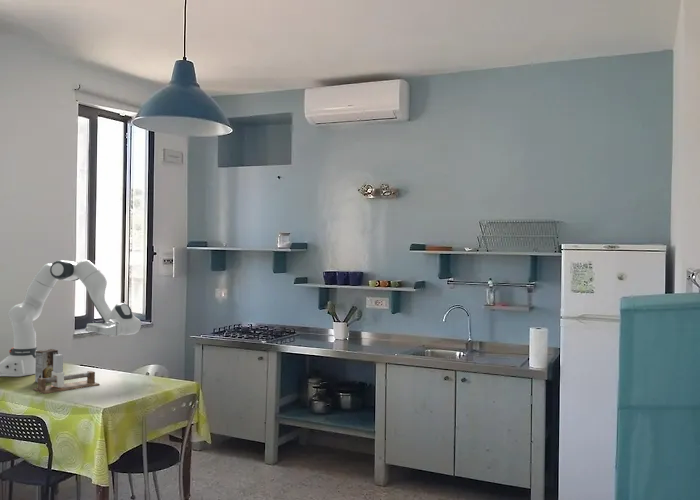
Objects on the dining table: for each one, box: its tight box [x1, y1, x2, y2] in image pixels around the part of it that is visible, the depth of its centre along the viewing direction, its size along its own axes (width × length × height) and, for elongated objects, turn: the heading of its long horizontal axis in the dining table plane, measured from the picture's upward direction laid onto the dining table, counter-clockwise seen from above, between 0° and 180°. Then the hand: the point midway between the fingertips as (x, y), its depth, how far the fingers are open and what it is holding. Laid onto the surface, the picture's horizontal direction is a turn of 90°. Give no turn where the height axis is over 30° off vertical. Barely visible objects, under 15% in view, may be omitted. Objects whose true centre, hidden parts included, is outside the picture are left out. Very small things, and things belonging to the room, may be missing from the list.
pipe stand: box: [32, 370, 100, 395], centre depth 322 cm, size 28×12×6 cm, turn 139°
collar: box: [51, 353, 65, 388], centre depth 319 cm, size 3×7×16 cm, turn 49°
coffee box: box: [34, 348, 59, 383], centre depth 336 cm, size 9×6×16 cm
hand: (86, 329), depth 329 cm, fingers closed
